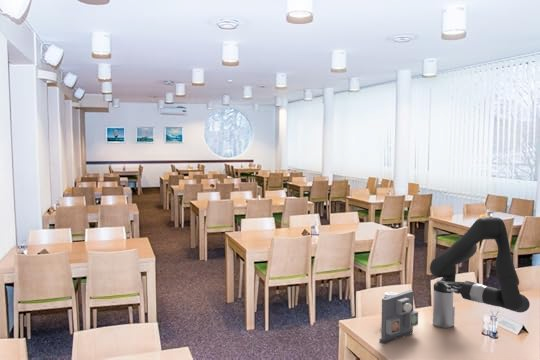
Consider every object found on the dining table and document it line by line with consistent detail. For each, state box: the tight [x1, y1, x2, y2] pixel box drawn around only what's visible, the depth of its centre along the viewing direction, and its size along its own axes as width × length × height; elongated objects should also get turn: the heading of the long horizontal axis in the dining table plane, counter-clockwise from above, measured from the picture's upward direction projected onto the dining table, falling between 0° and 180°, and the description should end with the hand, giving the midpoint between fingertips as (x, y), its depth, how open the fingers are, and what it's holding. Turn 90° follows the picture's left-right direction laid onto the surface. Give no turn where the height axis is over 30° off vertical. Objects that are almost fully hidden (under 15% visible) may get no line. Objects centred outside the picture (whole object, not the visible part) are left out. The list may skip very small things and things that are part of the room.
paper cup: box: [383, 291, 399, 299], centre depth 243 cm, size 8×8×14 cm
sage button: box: [411, 315, 417, 324], centre depth 224 cm, size 2×4×4 cm, turn 129°
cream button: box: [402, 302, 412, 313], centre depth 217 cm, size 2×4×4 cm, turn 129°
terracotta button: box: [392, 322, 399, 331], centre depth 215 cm, size 2×4×4 cm, turn 129°
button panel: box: [379, 290, 419, 345], centre depth 220 cm, size 6×21×20 cm, turn 129°
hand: (438, 283), depth 212 cm, fingers closed
